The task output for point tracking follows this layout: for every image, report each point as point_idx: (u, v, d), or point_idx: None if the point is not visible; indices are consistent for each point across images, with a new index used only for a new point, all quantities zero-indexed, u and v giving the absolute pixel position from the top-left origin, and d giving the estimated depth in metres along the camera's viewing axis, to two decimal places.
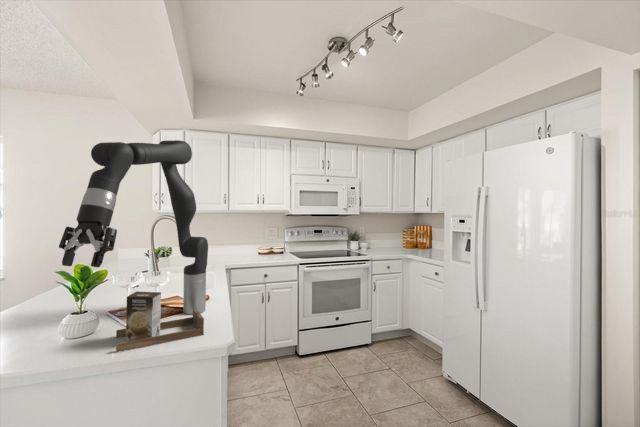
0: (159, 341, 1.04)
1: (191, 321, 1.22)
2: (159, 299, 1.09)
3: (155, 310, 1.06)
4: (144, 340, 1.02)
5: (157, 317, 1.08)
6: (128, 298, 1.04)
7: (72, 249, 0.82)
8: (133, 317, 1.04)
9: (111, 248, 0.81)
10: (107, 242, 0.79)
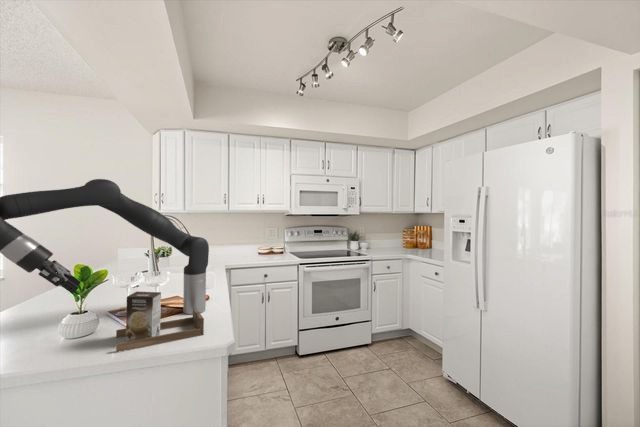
0: (159, 341, 1.04)
1: (191, 321, 1.22)
2: (159, 299, 1.09)
3: (155, 310, 1.06)
4: (144, 340, 1.02)
5: (157, 317, 1.08)
6: (128, 298, 1.04)
7: (66, 276, 0.98)
8: (133, 317, 1.04)
9: (61, 281, 0.89)
10: (52, 283, 0.88)
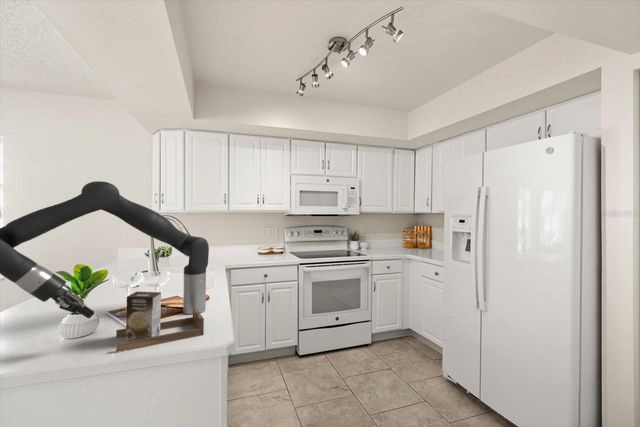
0: (159, 341, 1.04)
1: (191, 321, 1.22)
2: (159, 299, 1.09)
3: (155, 310, 1.06)
4: (144, 340, 1.02)
5: (157, 317, 1.08)
6: (128, 298, 1.04)
7: None
8: (133, 317, 1.04)
9: (79, 308, 0.95)
10: None
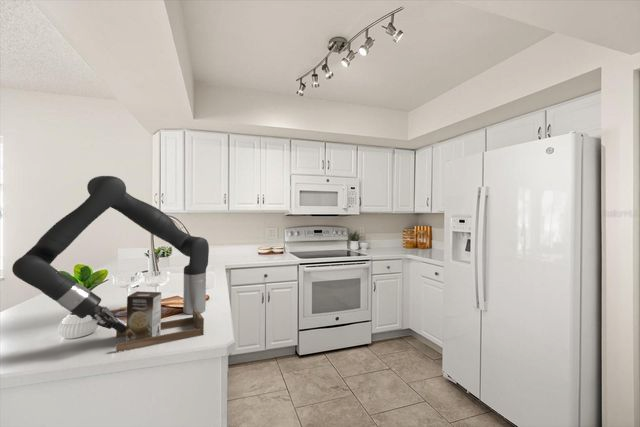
0: (159, 341, 1.04)
1: (191, 321, 1.22)
2: (159, 299, 1.09)
3: (156, 310, 1.07)
4: (144, 340, 1.02)
5: (157, 317, 1.08)
6: (128, 298, 1.04)
7: None
8: (134, 317, 1.04)
9: (114, 324, 1.00)
10: None
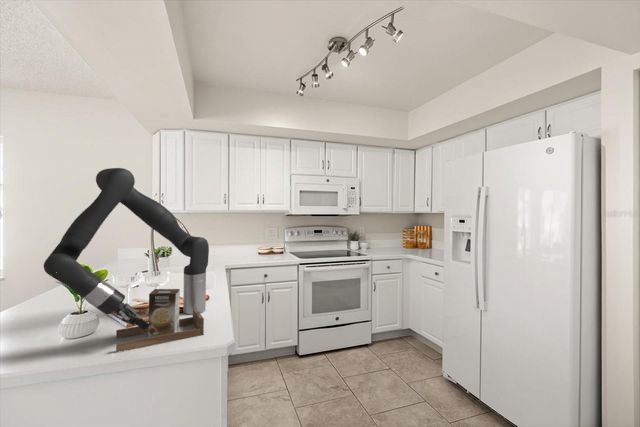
0: (159, 341, 1.04)
1: (191, 321, 1.22)
2: (179, 295, 1.14)
3: (177, 306, 1.11)
4: (144, 340, 1.02)
5: (177, 313, 1.13)
6: (151, 295, 1.07)
7: None
8: (156, 313, 1.08)
9: (137, 320, 1.04)
10: None
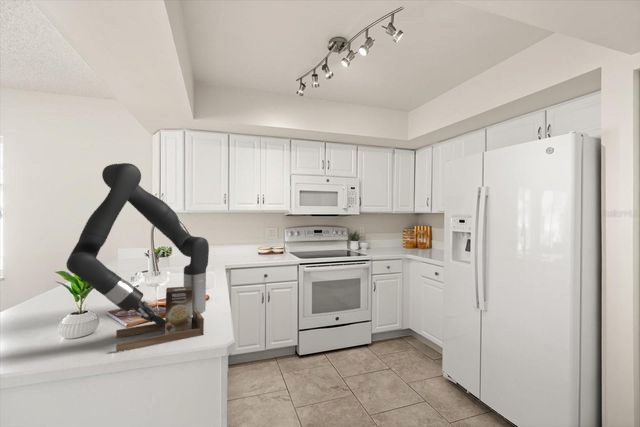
0: (159, 341, 1.04)
1: None
2: None
3: None
4: (144, 340, 1.02)
5: None
6: (168, 293, 1.10)
7: None
8: (173, 310, 1.11)
9: (155, 317, 1.06)
10: None
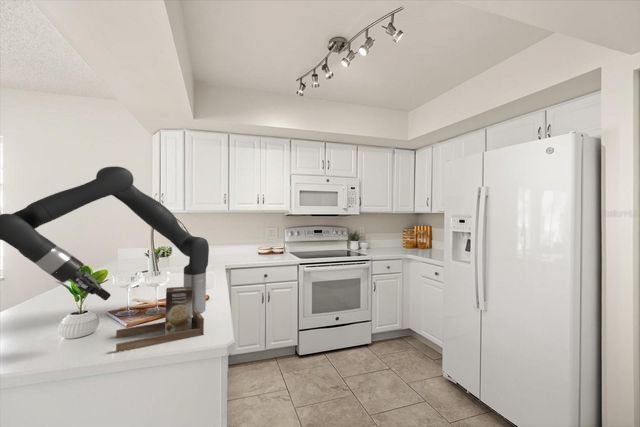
0: (159, 341, 1.04)
1: None
2: None
3: None
4: (144, 340, 1.02)
5: None
6: (168, 293, 1.10)
7: None
8: (173, 310, 1.11)
9: (97, 290, 0.97)
10: None
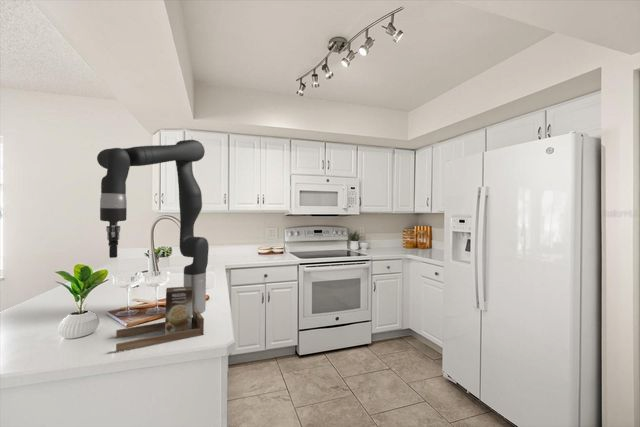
0: (159, 341, 1.04)
1: None
2: None
3: None
4: (144, 340, 1.02)
5: None
6: (168, 293, 1.10)
7: None
8: (173, 310, 1.11)
9: (115, 244, 1.03)
10: None
